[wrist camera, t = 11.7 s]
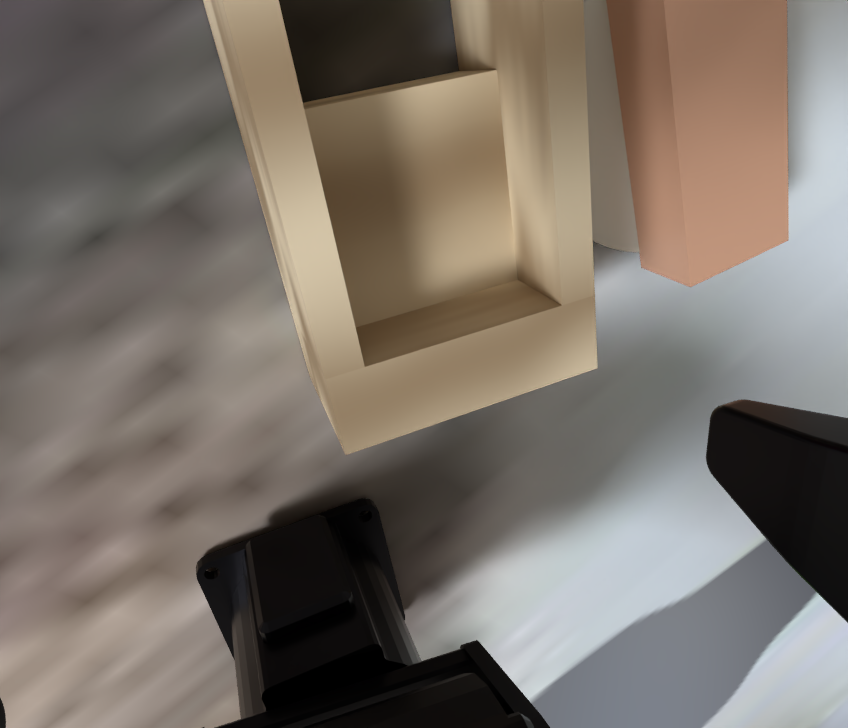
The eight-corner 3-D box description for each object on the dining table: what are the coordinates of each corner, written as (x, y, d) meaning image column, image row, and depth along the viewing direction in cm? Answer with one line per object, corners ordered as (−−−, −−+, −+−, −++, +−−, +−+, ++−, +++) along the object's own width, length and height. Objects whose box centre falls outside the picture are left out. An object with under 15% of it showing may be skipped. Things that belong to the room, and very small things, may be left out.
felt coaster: (750, 215, 24) (763, 218, 24) (544, 276, 22) (553, 281, 21) (773, -63, 20) (789, -67, 19) (521, -21, 18) (532, -23, 17)
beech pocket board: (515, 312, 22) (597, 368, 18) (309, 376, 20) (346, 454, 16) (448, -337, 14) (563, -511, 10) (110, -326, 13) (78, -530, 8)
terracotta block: (731, 225, 23) (788, 240, 21) (641, 267, 22) (690, 287, 20) (716, -54, 19) (786, -72, 17) (603, -13, 18) (661, -25, 16)
